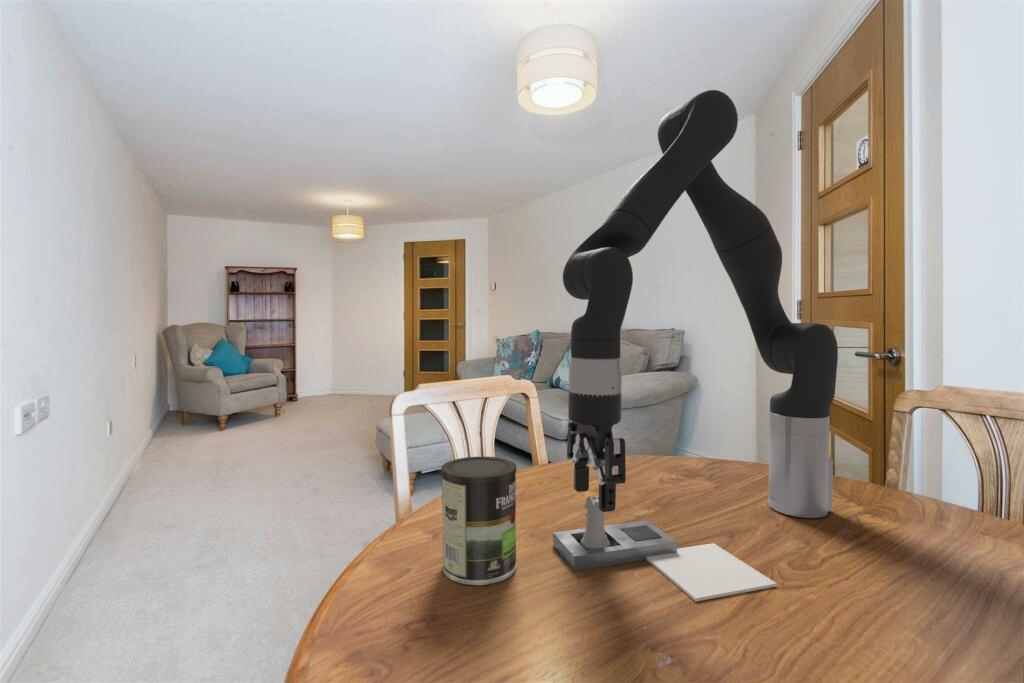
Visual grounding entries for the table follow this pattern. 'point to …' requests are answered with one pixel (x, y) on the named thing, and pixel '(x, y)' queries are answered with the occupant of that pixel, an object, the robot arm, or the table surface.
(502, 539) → the coffee can
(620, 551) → the grey rectangular frame
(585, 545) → the rook chess piece
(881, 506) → the table surface
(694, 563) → the mat
